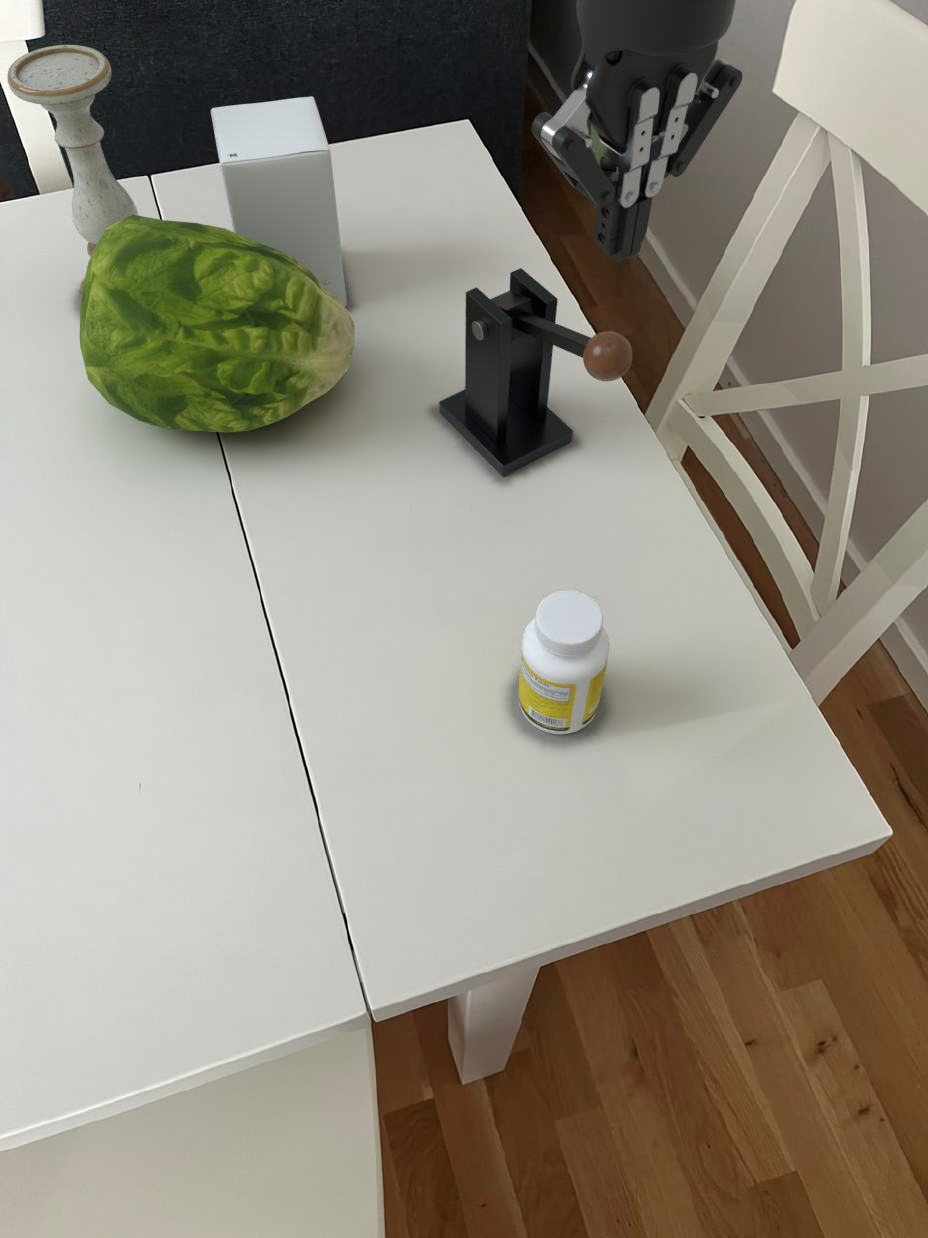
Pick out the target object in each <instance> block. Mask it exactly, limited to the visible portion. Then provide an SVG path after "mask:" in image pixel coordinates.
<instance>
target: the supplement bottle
mask: <svg viewBox="0 0 928 1238" xmlns="http://www.w3.org/2000/svg"><path fill="white" fill-rule="evenodd" d="M603 625H604V614H603V612H602V609H601V607H600V605H599V604H598V602H597V601H596V600H595V599H594V598H592V597H591V596H590V595H588V594H586V593H584V592H581V591H579V590H573V589H562V590H557V591H554V592H551V593H550V594H547V596H545V597H544V598H543V599H542V600H541V601H540V602H539V604H538V605H537V608H536V611H535V617H533V618H531V620H530V621H529V623H528V624H527V626H526V627H525V630H524V631H523V635H522V641H521V649H520V650H521V651H520V661H519V677H518V678H519V679H518V704H519V708H520V711H521V713H522V714H523V715H524V718H525V719H526V721H528V722H529V723H530V725H533V727H535V728H536V729H538V730H540V731H543V732H545V733H547V734H548V733H549V734H553V735H567V734H572V733H576V732H579V731H580V730H582V729H583V728H585V727H586V726H588V725H589V724H590V723H591V722H592V720H594V718H595V716H596V714H597V712H598V709H599V706H600V701H601V695H602V691H603V687H604V686H603V685H604V681H605V676H606V671H607V666H608V662H609V656H610V640H609V635H608V633H607V631H606V629H605V628H604V626H603Z"/></svg>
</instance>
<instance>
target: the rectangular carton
mask: <svg viewBox="0 0 928 1238" xmlns="http://www.w3.org/2000/svg"><path fill="white" fill-rule="evenodd" d="M210 115H211V121H212V127H213V132H214V138H215V139H214V140H215V144H216V150H217V157H218V161H219V167H220V172H221V178H222V181H223V182H222V183H223V186H224V192H225V196H226V200H227V207H228V211H229V216H230V222H231V226H232V232H234V233H236V234H239V235H241V236H243V237H245V238H248V239H250V240H252V241H255V242H257V243H260V244H263V245H266V246H268V247H271V248H274V249H276V250H278V251H280V252H282V253H284V254H286V255H288V256H290V257H292V258H294V259H295V260H296V261H298V262H299V263H300V264H302V265H303V266H304V267H306V268H307V269H308V270H310V271H311V272H312V274H313V275H314V276H315V277H316V278H317V280H318V281H319V282H320V283H321V284H322V285H323V287H324V288H325V289H326V290H328V291H329V292H330V293H331V294H332V295H333V296H335V297H336V298H337V299H338V300H339V301H340V302H341V303H342V304H343V305H344V307H345V308H346V307H347V306H348V299H347V291H346V281H345V274H344V265H343V264H344V263H343V256H342V255H343V254H342V246H341V236H340V227H339V218H338V209H337V199H336V189H335V180H334V171H333V162H332V154H331V149H330V145H329V142H328V139H327V136H326V132H325V129H324V126H323V122H322V119H321V116H320V112H319V109H318V106H317V103H316V100H315V97H314V96H303V97H301V96H300V97H293V98H285V99H279V100H272V101H271V100H270V101H263V102H255V103H254V102H253V103H243V104H242V103H241V104H234V105H225V106H217V107H212V108H211V110H210Z"/></svg>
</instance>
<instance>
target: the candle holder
mask: <svg viewBox="0 0 928 1238" xmlns="http://www.w3.org/2000/svg"><path fill="white" fill-rule="evenodd" d="M112 76H113V70H112V67H111V63H110V62H109V60H108V59H107V57H106V56H105V55H104V54H103V53H102V52H100V51H99V50H97V49H95V48H93V47H89V46H85V45H78V44H58V45H50V46H46V47H42V48H37V49H35V50H31V51H30V52H27V53H25V54H24V55H21V56H19V58H17V59H15V60H14V62H12V63H11V65H10V67H8V71H7V84H8V87H9V90H10V91H11V92H12V93H13V95H14V96H15V97H17V98H19V99H20V100H22V101H25V102H27V103H32V104H35V105H36V104H37V105H40V107H41V108H43V109H44V110H45V111H47V112H49V113H50V114H51V115H53V117H54V119H55V120H56V128H55V132H54V135H53V136H54V141H55V143H56V144H57V145H58V146H60V147H62V148H63V149H64V150H65V152H66V154H67V157H68V162H69V165H70V168H71V172H72V176H73V177H72V178H73V193H72V198H71V199H72V200H71V218H72V223H73V226H74V228H75V230H76V231H77V233H78V234H79V235H80V236H81V237H82V238H83V239H84V240H85V241H87V242H88V243H87V246H86V251H87V252H86V253H87V254H88V257H89V258H90V257H91V255H92V253H93V251H94V249H95V247H96V246H97V244H98V242H99V240H100V238H101V236H102V234H103V232H104V230H105V228H106V227H108V226H110V225H112V224H114V223H117V222H119V221H121V220H123V219H125V218H127V217H129V216H131V215H138V216H139V211H138V207H137V206H136V203H135V202H134V200H133V198H132V197H131V195H130V193H128V191H126V189H125V188H124V187H123V186H122V185H121V184H120V183H119V181H118V180H117V179H116V177H115V176H114V174H113V173H112V171H111V169H110V167H109V165H108V162H107V160H106V157H105V154H104V151H103V148H102V143H101V140H102V139H103V138H104V135H105V130H104V128H103V127H102V125H100V124H99V123H98V122H97V121H96V120H95V119H94V118H93V116H92V114H91V107H92V104H93V103H94V101H95V98H96V94H98V93H99V92H101V91H103V90H104V89H105V88H106V87H108V85H109V83H110V82H111V80H112ZM84 281H85V278H84V279H83V280H82V281H81V284H80V286H79V289H78V296H79V300H80V301H81V297H82V292H83V286H84Z"/></svg>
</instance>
